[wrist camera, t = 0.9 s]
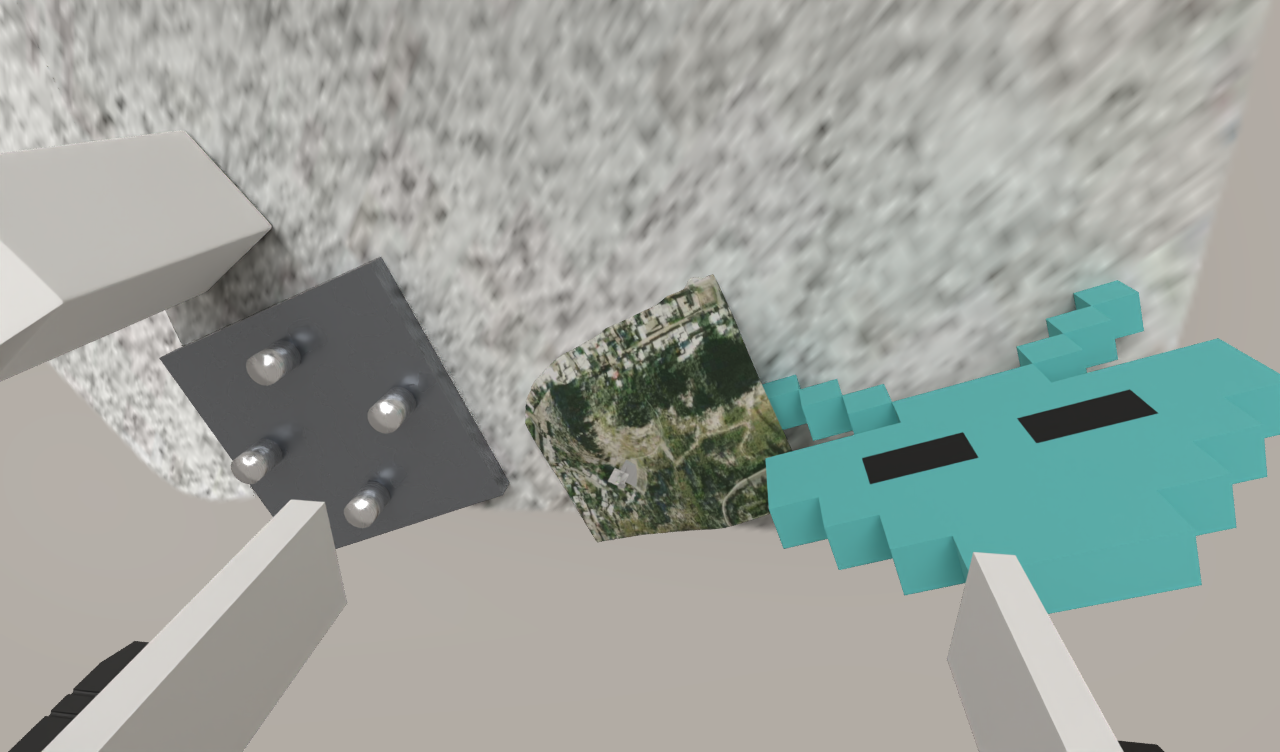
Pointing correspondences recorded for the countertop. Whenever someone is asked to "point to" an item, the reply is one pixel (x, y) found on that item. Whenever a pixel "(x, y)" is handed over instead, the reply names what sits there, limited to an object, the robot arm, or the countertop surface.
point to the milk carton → (110, 239)
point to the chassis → (340, 408)
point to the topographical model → (660, 421)
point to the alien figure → (1035, 462)
